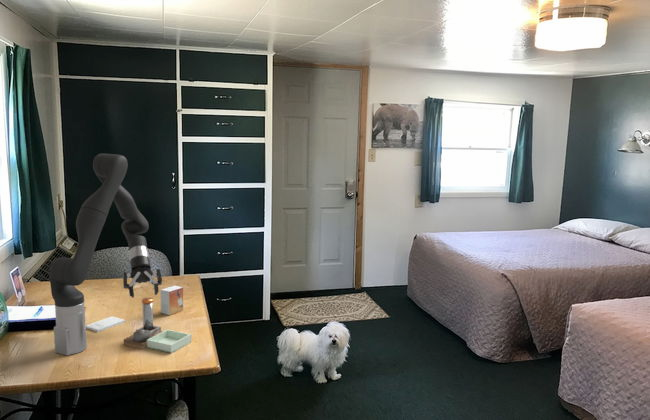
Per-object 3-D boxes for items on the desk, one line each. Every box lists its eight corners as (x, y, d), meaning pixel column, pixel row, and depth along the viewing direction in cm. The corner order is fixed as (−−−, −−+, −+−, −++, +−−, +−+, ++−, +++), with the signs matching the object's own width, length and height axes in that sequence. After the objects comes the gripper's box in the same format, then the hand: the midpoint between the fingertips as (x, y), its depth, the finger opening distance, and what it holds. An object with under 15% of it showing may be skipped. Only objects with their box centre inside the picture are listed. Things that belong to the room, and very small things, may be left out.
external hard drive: (124, 323, 207) (97, 333, 197) (111, 319, 211) (84, 329, 201) (124, 319, 207) (97, 329, 196) (111, 315, 211) (84, 325, 200)
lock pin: (149, 335, 190) (147, 301, 188) (140, 333, 191) (139, 300, 189) (156, 331, 193) (155, 298, 191) (148, 329, 195) (147, 297, 193)
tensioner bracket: (142, 349, 182) (142, 334, 181) (123, 344, 186) (123, 330, 185) (166, 336, 193) (165, 323, 192) (147, 332, 197) (147, 319, 196)
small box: (169, 315, 215) (168, 291, 214) (160, 313, 218) (159, 289, 217) (183, 310, 222) (183, 287, 221) (175, 307, 225) (174, 284, 223)
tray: (171, 353, 179) (171, 345, 179) (147, 347, 183) (146, 339, 183) (191, 341, 189) (191, 334, 189) (167, 336, 193) (167, 329, 193)
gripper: (121, 256, 199) (125, 293, 191) (158, 253, 206) (164, 288, 197) (120, 266, 205) (124, 302, 196) (157, 262, 211) (162, 297, 203)
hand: (144, 295), depth 197 cm, fingers open, 8 cm apart
